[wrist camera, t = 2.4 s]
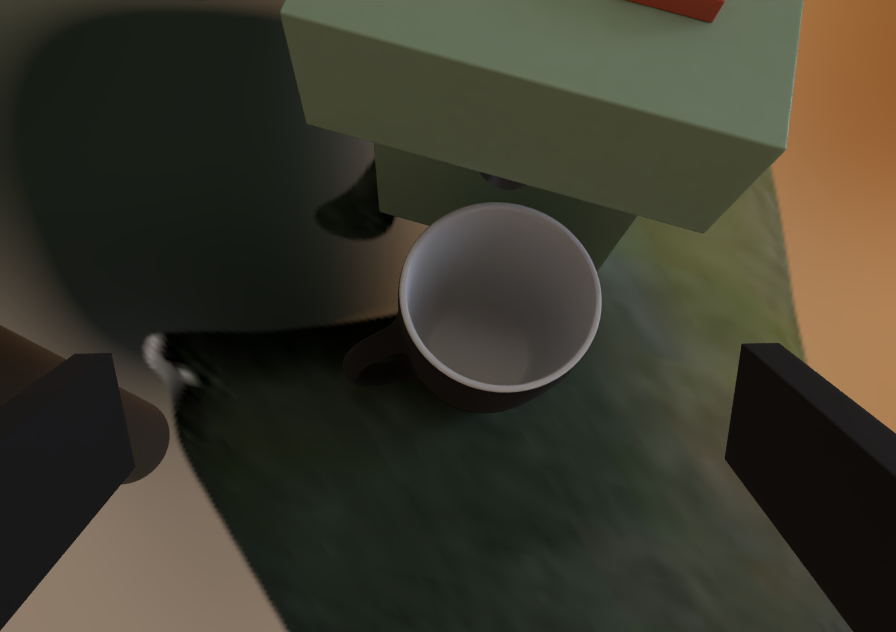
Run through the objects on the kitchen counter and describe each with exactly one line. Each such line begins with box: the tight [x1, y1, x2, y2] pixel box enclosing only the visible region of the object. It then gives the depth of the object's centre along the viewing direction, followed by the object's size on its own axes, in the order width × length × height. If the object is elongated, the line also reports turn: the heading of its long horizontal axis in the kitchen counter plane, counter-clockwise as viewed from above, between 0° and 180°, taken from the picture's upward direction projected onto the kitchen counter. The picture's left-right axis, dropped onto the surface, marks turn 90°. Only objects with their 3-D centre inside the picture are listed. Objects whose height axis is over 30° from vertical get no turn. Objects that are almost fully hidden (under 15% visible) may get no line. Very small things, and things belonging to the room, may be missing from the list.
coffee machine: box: [280, 0, 804, 272], centre depth 30 cm, size 14×16×23 cm
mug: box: [343, 202, 602, 413], centre depth 32 cm, size 12×9×10 cm
